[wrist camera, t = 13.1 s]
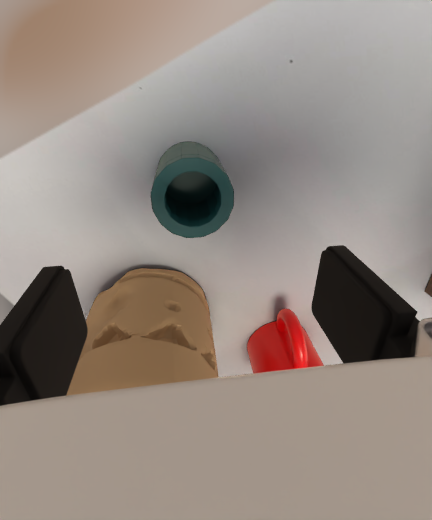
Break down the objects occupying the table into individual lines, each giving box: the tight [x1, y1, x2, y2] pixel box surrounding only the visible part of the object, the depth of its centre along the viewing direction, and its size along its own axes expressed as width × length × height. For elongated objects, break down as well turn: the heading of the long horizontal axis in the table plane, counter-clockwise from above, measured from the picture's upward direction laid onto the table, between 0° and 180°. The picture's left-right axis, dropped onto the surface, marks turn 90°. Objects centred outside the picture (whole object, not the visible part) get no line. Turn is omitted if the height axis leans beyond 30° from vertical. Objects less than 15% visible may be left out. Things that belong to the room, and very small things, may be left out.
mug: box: [247, 309, 324, 373], centre depth 33 cm, size 8×12×8 cm, turn 6°
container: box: [66, 268, 218, 396], centre depth 25 cm, size 13×13×18 cm
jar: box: [151, 142, 234, 238], centre depth 23 cm, size 6×6×7 cm
